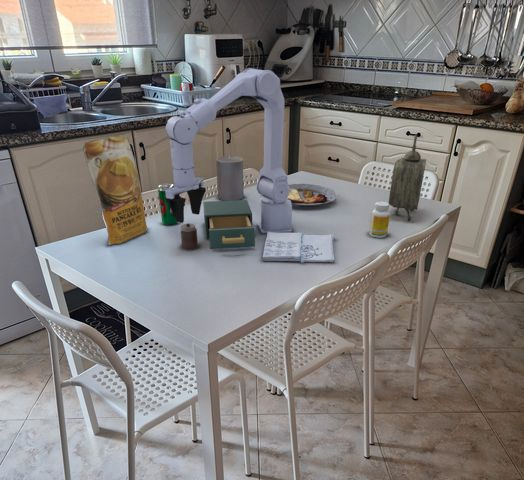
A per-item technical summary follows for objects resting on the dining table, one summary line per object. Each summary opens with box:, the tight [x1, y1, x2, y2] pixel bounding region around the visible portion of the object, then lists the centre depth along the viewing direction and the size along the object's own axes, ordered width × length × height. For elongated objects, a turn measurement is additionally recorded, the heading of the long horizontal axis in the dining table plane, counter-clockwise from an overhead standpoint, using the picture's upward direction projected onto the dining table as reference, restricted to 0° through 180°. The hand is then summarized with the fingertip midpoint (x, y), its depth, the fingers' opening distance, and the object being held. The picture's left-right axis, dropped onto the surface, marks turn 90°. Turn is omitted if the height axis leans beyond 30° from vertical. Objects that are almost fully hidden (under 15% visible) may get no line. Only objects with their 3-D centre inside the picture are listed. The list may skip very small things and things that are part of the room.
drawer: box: [208, 216, 256, 250], centre depth 139 cm, size 16×13×6 cm
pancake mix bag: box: [82, 133, 148, 246], centre depth 139 cm, size 7×19×28 cm, turn 149°
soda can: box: [157, 183, 178, 226], centre depth 153 cm, size 5×5×12 cm
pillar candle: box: [215, 154, 245, 201], centre depth 175 cm, size 10×10×15 cm
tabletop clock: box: [388, 134, 427, 222], centre depth 155 cm, size 14×9×25 cm, turn 161°
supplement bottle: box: [368, 201, 391, 239], centre depth 145 cm, size 5×5×10 cm
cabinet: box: [202, 199, 253, 240], centre depth 149 cm, size 13×14×7 cm
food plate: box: [286, 183, 338, 207], centre depth 176 cm, size 25×23×4 cm
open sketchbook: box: [262, 232, 336, 264], centre depth 137 cm, size 19×20×2 cm
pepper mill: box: [179, 223, 199, 251], centre depth 138 cm, size 5×5×7 cm
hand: (188, 217), depth 135 cm, fingers open, 7 cm apart
